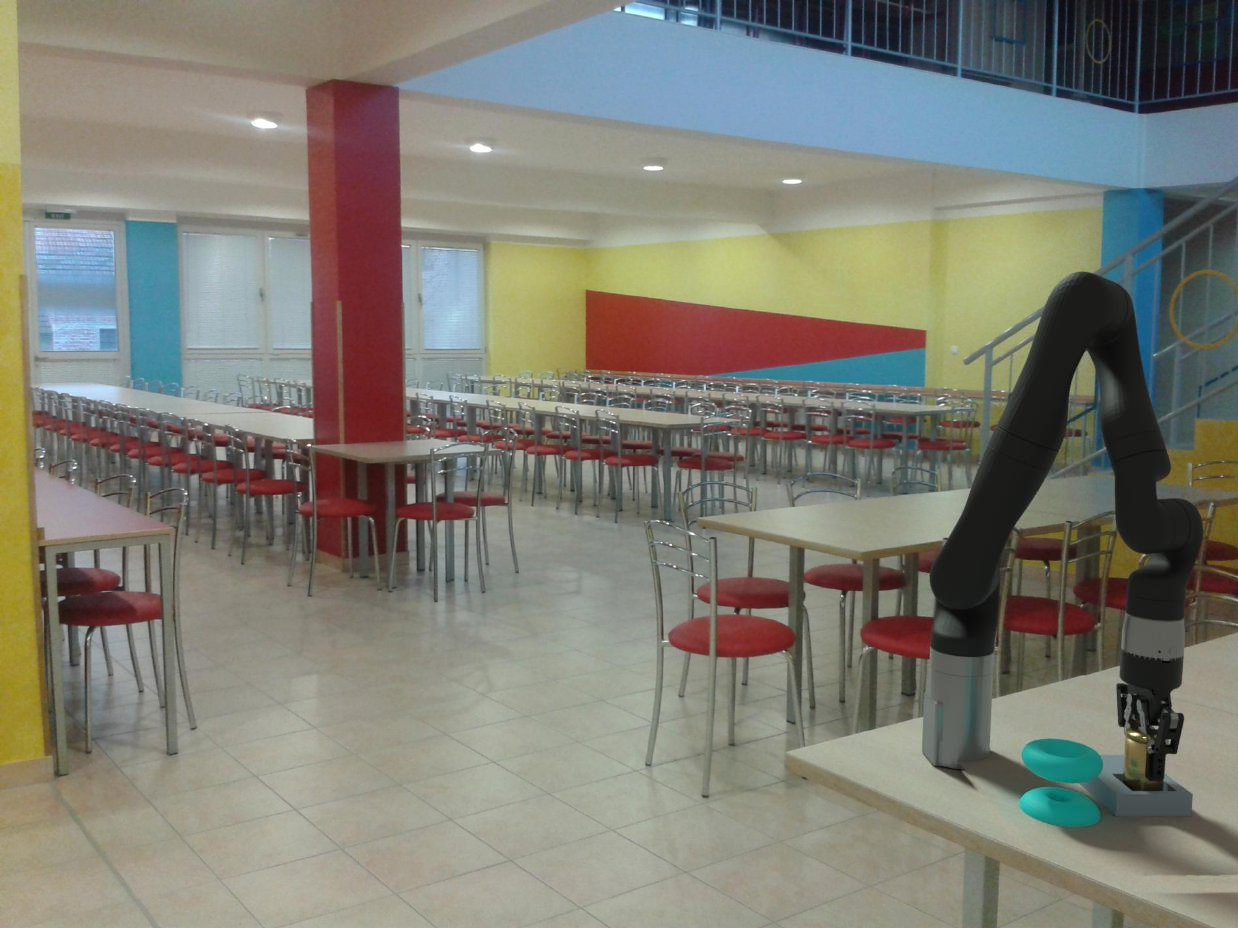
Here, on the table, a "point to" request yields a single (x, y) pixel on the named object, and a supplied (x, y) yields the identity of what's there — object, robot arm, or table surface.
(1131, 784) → the gold battery
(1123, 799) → the housing
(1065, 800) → the donuts
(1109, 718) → the table surface
